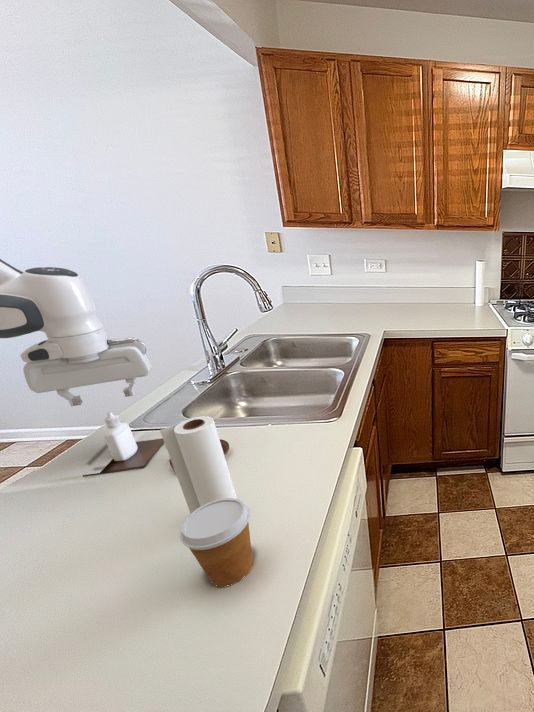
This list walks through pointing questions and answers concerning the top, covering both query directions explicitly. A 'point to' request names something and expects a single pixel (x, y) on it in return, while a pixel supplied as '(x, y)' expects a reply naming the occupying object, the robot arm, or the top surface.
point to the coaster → (134, 457)
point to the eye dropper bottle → (119, 438)
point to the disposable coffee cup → (220, 540)
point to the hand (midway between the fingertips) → (104, 399)
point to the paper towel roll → (198, 461)
